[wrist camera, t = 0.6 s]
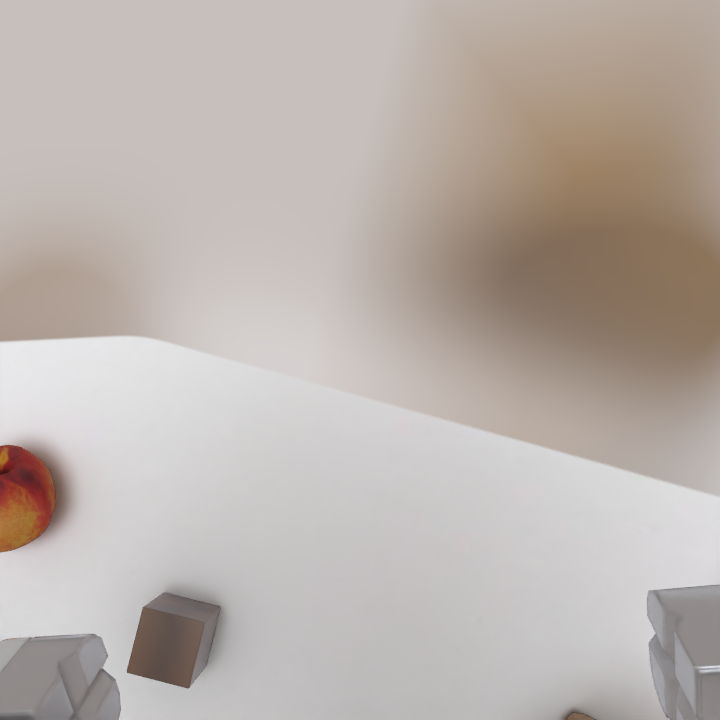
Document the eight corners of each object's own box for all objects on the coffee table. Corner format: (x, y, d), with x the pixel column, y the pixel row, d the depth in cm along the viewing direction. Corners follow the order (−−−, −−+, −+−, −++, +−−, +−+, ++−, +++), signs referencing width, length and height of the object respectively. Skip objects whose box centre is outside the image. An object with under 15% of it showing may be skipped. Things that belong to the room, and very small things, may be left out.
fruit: (93, 484, 59) (47, 492, 51) (35, 562, 58) (-20, 582, 50) (23, 431, 59) (-33, 430, 51) (-35, 508, 59) (-100, 519, 51)
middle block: (220, 606, 57) (205, 622, 52) (206, 667, 57) (188, 689, 52) (163, 592, 57) (142, 606, 52) (148, 652, 57) (126, 672, 52)
